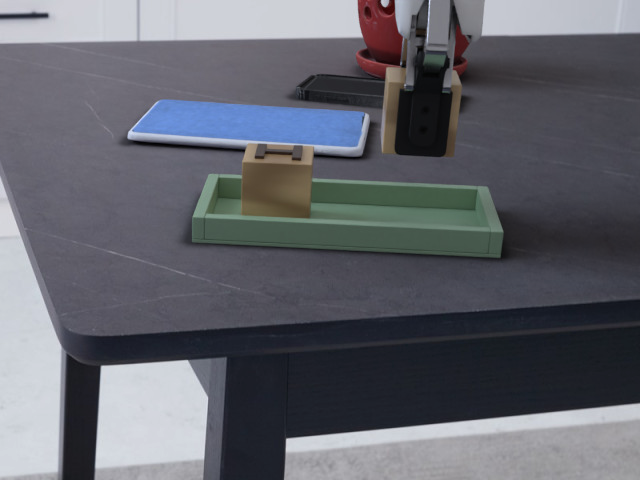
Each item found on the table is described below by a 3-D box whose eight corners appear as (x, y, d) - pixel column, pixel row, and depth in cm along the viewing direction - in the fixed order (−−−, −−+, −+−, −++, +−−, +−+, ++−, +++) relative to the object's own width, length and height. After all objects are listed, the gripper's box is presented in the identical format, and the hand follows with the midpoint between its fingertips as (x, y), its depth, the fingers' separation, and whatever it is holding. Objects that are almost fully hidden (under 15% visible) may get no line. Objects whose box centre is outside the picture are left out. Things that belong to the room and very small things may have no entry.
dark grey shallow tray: (314, 73, 116) (463, 85, 112) (313, 84, 116) (462, 97, 112) (292, 89, 109) (451, 103, 105) (292, 101, 110) (450, 115, 106)
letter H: (310, 210, 80) (314, 142, 77) (308, 231, 76) (312, 161, 73) (246, 206, 80) (247, 139, 78) (240, 228, 76) (242, 158, 74)
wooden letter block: (448, 139, 76) (456, 67, 74) (453, 157, 72) (462, 81, 70) (380, 135, 77) (386, 63, 75) (381, 153, 73) (388, 78, 71)
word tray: (484, 213, 81) (487, 186, 80) (499, 262, 73) (504, 231, 72) (208, 200, 83) (208, 173, 82) (191, 246, 74) (191, 216, 73)
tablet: (370, 124, 103) (371, 109, 102) (361, 163, 92) (362, 146, 91) (158, 112, 105) (157, 97, 105) (124, 148, 94) (124, 132, 94)
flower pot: (403, 95, 113) (414, -34, 108) (327, 69, 123) (334, -50, 118) (503, 82, 119) (519, -40, 114) (423, 59, 129) (434, -55, 124)
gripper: (536, -165, 58) (489, 185, 67) (499, -171, 73) (464, 115, 82) (388, -170, 59) (360, 178, 67) (380, -176, 74) (358, 110, 82)
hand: (417, 140), depth 74 cm, fingers closed on wooden letter block, 4 cm apart
